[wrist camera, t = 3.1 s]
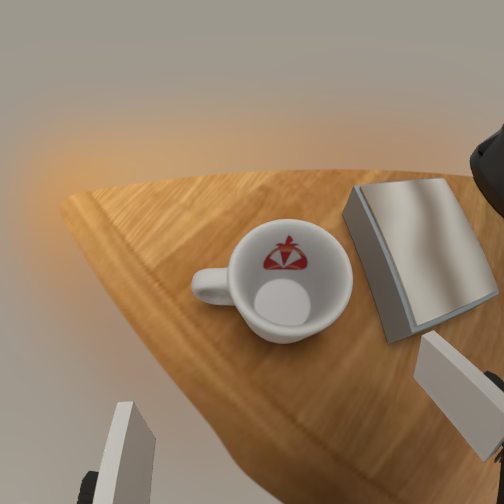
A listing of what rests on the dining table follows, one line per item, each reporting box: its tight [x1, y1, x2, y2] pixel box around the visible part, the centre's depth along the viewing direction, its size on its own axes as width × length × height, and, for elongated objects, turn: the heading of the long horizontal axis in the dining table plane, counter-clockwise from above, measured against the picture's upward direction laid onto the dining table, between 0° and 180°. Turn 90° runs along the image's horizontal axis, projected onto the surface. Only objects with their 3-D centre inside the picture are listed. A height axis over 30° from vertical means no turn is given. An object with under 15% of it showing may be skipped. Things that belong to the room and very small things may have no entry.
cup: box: [192, 219, 353, 344], centre depth 21 cm, size 11×8×8 cm
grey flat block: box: [342, 178, 499, 344], centre depth 24 cm, size 12×14×5 cm
